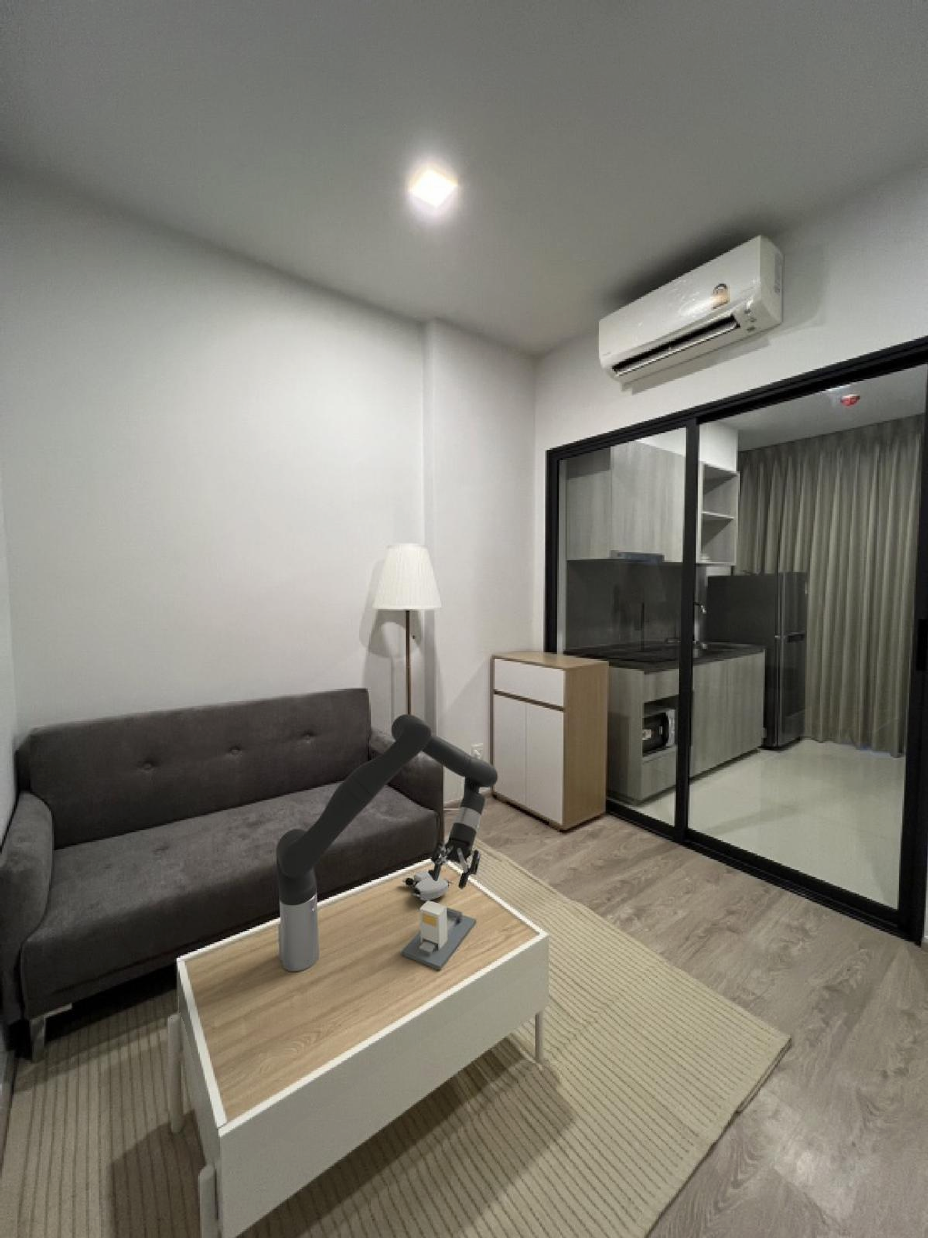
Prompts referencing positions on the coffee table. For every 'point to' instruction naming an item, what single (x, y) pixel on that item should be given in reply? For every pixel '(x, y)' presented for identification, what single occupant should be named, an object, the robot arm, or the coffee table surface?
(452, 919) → the rail
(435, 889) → the robot toy
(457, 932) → the rail board
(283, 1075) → the coffee table surface
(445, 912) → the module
